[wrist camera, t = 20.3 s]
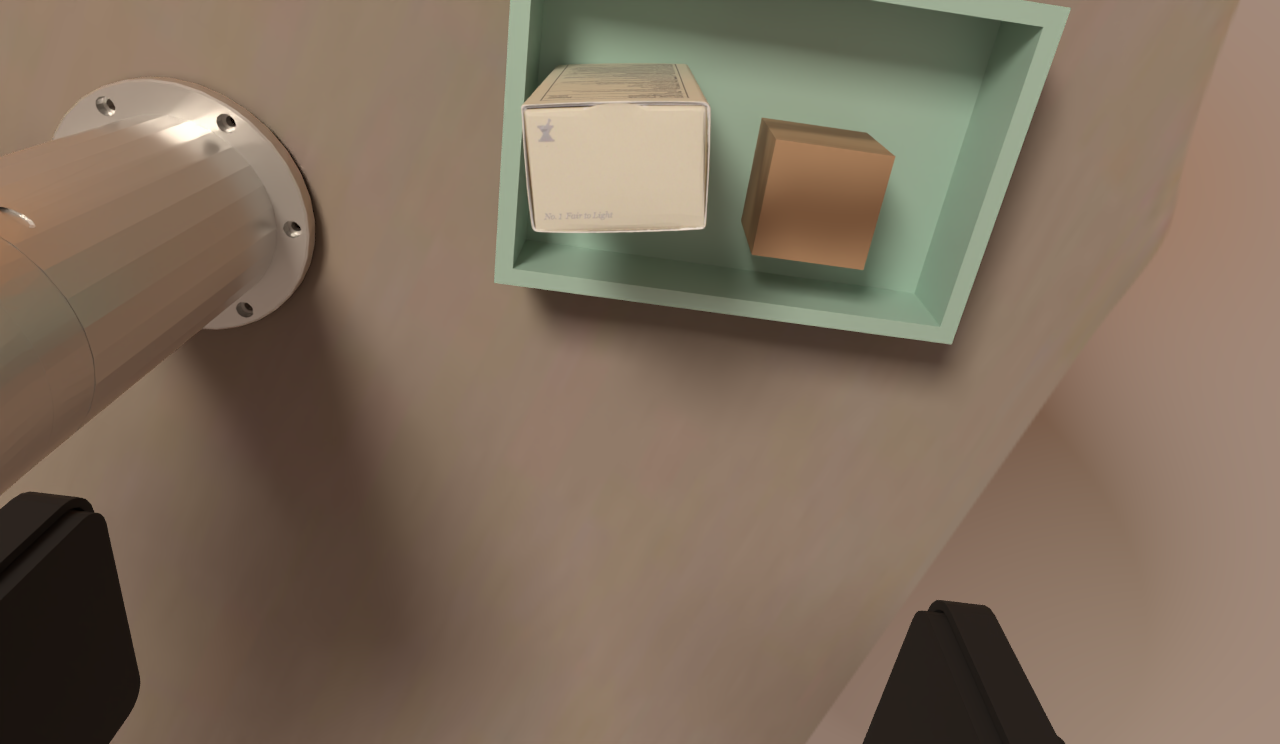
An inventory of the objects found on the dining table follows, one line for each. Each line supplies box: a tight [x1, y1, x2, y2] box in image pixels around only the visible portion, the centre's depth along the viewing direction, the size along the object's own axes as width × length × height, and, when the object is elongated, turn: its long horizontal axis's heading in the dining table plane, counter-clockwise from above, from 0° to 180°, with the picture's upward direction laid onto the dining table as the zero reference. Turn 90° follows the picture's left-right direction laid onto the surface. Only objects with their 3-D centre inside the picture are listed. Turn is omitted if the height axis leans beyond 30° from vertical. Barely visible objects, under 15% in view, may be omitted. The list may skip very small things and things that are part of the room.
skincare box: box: [521, 63, 711, 233], centre depth 32 cm, size 6×4×12 cm
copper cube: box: [741, 118, 895, 270], centre depth 36 cm, size 5×5×5 cm
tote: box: [494, 0, 1071, 344], centre depth 36 cm, size 22×15×5 cm
